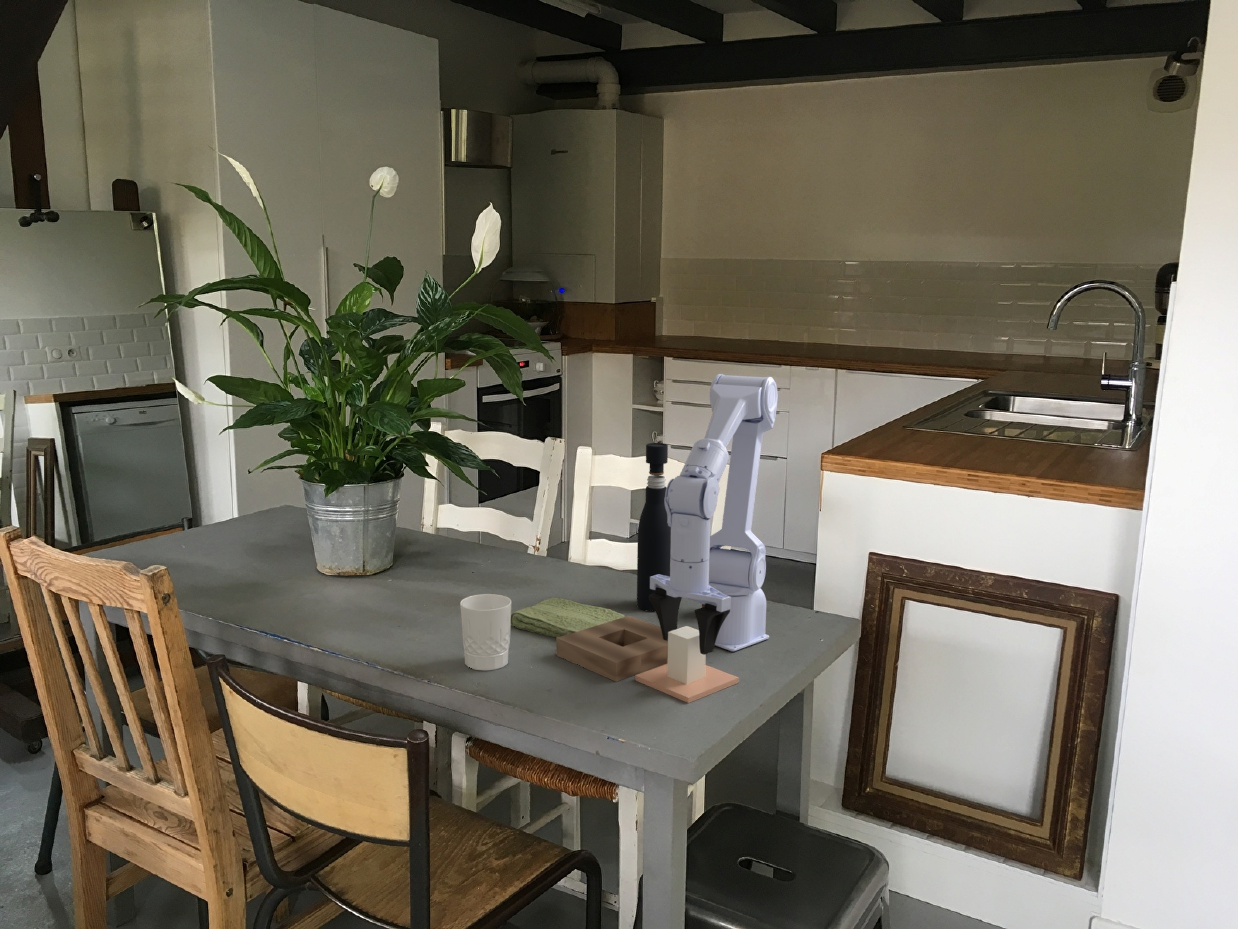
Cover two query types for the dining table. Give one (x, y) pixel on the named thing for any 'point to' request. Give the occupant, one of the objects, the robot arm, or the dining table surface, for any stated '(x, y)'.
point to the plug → (685, 655)
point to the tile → (687, 692)
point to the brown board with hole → (616, 648)
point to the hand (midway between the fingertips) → (687, 645)
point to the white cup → (486, 630)
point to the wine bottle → (653, 527)
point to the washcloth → (561, 617)
